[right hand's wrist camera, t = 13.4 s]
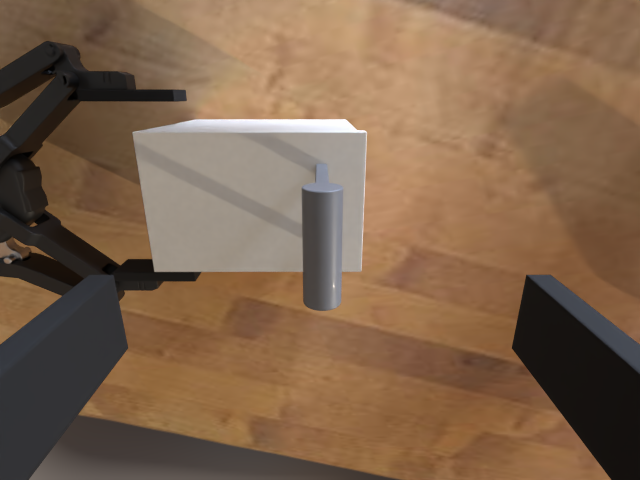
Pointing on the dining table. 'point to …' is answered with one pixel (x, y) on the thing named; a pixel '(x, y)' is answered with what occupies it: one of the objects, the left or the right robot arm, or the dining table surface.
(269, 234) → the cabinet door with handle
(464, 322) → the dining table surface
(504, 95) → the dining table surface
